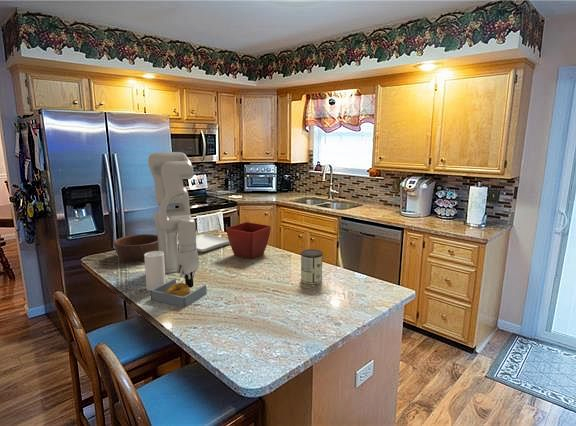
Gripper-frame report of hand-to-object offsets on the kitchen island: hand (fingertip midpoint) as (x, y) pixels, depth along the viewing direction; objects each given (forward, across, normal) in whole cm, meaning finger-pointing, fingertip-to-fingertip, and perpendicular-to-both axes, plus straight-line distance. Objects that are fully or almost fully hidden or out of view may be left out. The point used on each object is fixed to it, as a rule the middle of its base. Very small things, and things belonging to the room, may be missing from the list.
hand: (189, 286), depth 163 cm
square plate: (+3, -60, -38) cm, 71 cm away
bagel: (+2, +7, -1) cm, 7 cm away
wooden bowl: (+2, -26, -57) cm, 63 cm away
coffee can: (+2, -34, +45) cm, 57 cm away
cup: (+2, +4, -16) cm, 17 cm away
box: (+2, +6, 0) cm, 7 cm away
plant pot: (+2, -56, -2) cm, 57 cm away
